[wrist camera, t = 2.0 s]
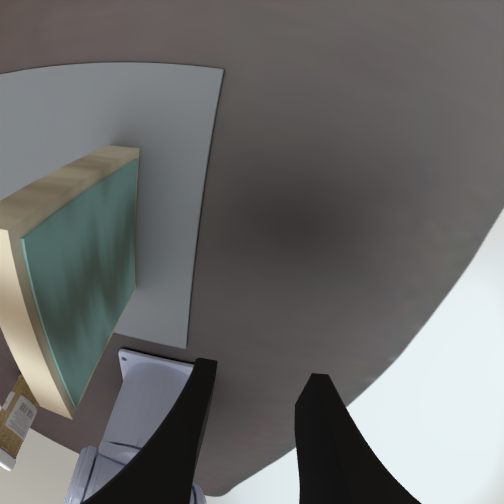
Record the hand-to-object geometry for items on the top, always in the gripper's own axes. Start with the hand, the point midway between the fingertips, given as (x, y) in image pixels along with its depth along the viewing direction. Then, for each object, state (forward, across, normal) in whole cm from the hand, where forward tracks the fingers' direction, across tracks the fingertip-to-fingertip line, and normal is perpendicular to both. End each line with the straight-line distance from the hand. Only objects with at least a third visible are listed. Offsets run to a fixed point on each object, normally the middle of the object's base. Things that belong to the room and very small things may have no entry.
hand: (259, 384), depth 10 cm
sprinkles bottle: (+11, +25, +26) cm, 38 cm away
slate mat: (+10, +15, 0) cm, 18 cm away
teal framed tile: (+10, +9, 0) cm, 13 cm away
